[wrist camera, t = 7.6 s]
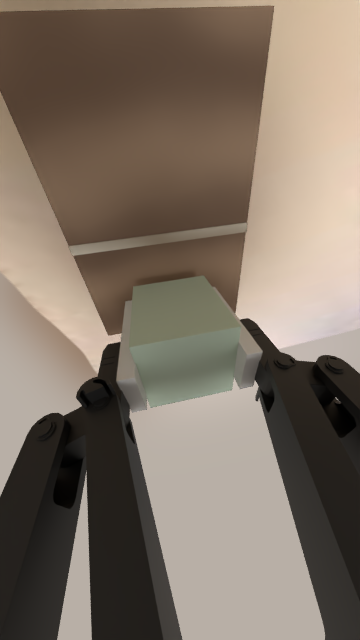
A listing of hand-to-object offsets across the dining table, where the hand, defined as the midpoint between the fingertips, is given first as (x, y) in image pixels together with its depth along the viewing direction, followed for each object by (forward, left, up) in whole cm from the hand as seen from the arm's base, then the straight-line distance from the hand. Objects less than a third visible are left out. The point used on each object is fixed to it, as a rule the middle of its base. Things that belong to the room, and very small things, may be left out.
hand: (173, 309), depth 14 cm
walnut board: (-5, 0, -6) cm, 8 cm away
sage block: (0, 0, 0) cm, 0 cm away
